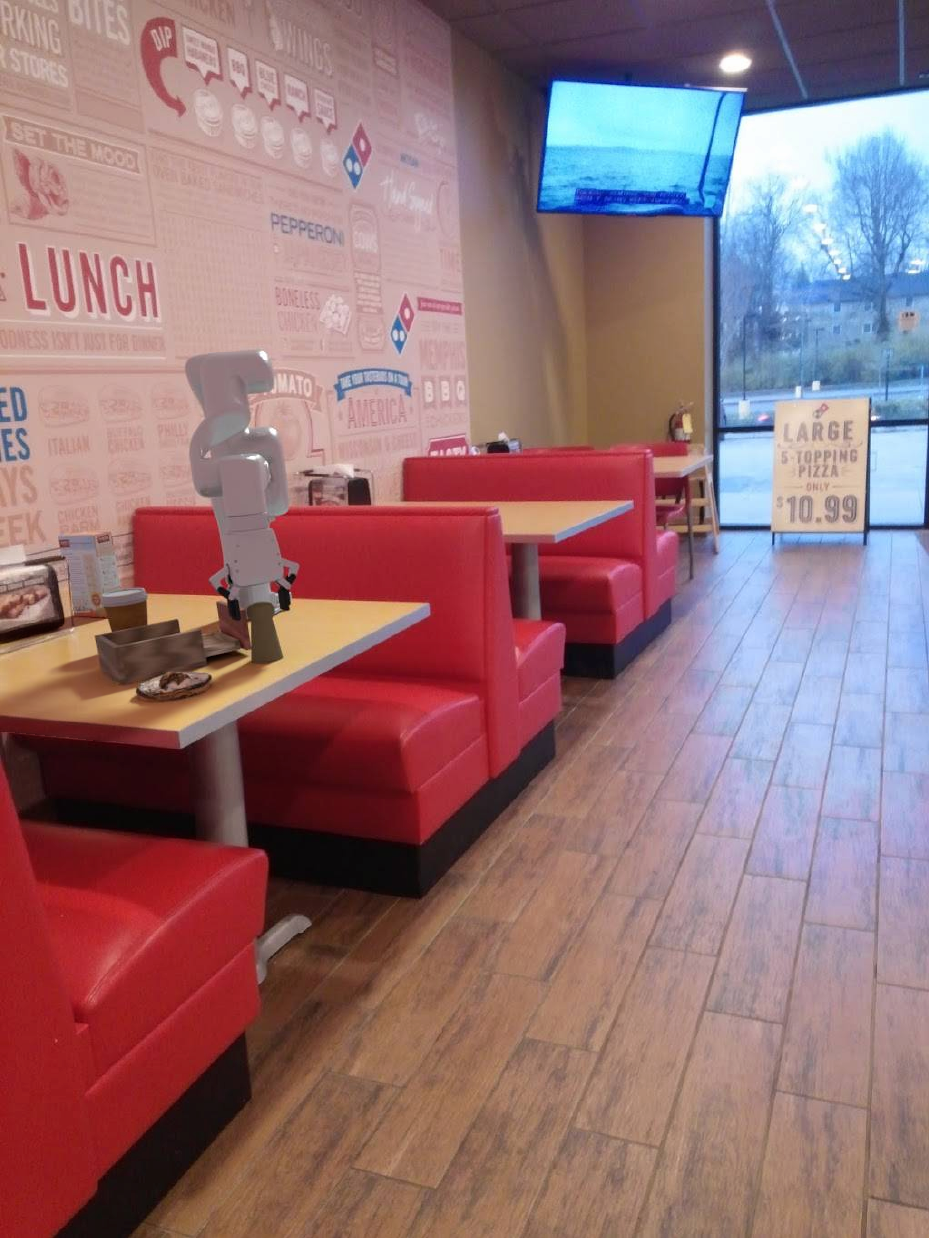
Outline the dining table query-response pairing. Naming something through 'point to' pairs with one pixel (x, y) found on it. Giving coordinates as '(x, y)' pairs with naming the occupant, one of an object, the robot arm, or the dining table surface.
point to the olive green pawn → (263, 633)
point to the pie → (173, 686)
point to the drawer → (227, 633)
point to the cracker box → (90, 570)
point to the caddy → (149, 651)
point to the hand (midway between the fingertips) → (261, 614)
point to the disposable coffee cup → (125, 608)
